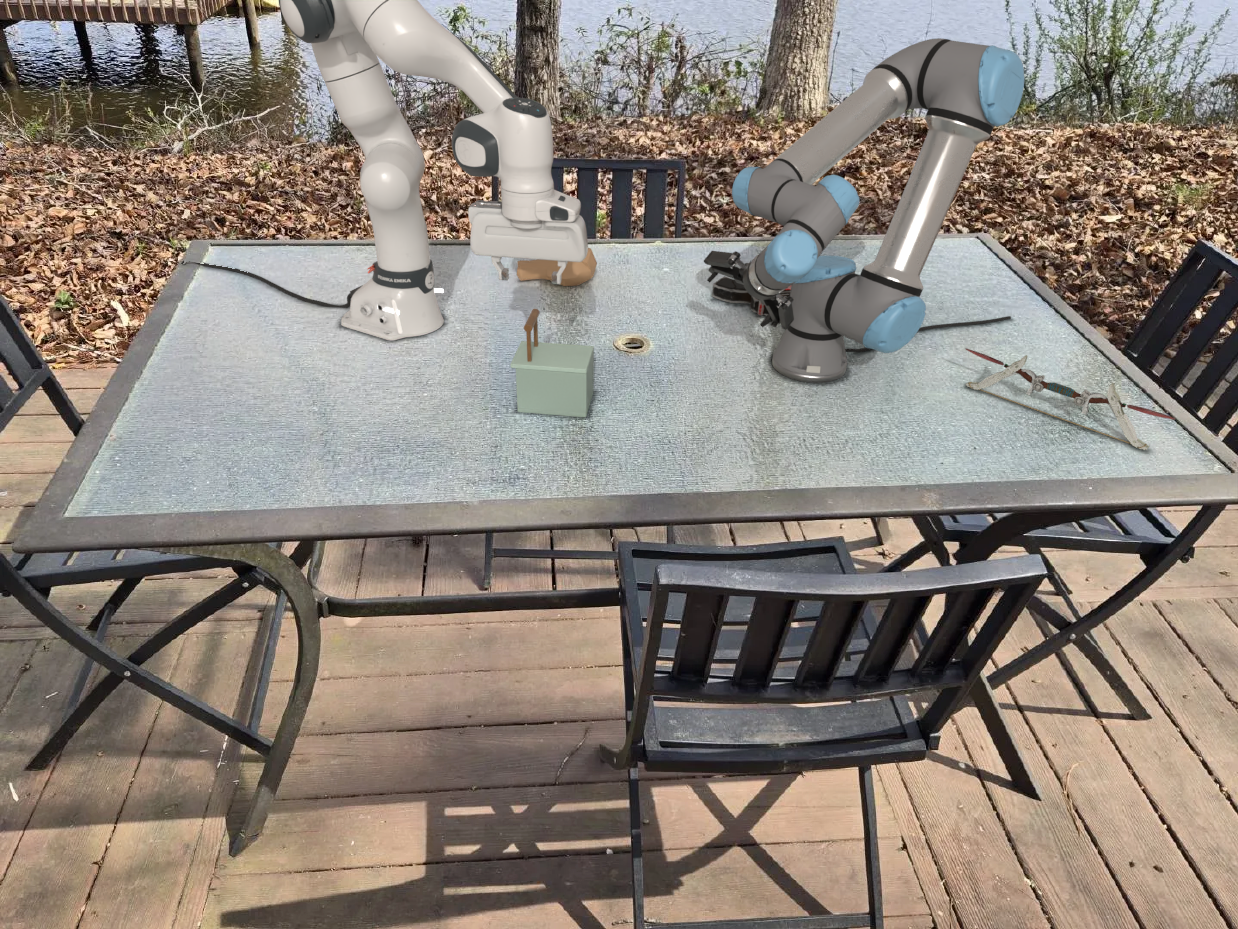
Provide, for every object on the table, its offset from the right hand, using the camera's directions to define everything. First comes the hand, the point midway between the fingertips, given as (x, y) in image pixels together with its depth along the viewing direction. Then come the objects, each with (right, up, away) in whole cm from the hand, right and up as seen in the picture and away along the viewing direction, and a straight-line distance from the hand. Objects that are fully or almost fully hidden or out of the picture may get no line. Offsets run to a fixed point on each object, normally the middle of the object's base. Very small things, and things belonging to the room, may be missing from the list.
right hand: (738, 298), depth 172 cm
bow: (+59, -23, -4) cm, 64 cm away
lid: (-36, -13, -9) cm, 39 cm away
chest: (-36, -21, -4) cm, 41 cm away
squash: (-39, +13, +46) cm, 62 cm away
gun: (+14, +10, +44) cm, 47 cm away
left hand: (-39, 0, -17) cm, 43 cm away
